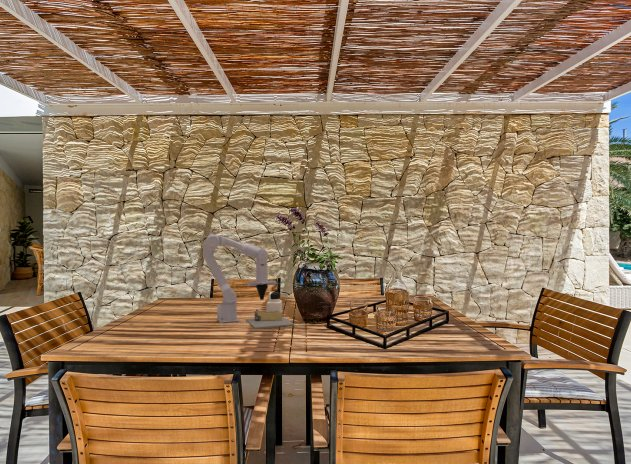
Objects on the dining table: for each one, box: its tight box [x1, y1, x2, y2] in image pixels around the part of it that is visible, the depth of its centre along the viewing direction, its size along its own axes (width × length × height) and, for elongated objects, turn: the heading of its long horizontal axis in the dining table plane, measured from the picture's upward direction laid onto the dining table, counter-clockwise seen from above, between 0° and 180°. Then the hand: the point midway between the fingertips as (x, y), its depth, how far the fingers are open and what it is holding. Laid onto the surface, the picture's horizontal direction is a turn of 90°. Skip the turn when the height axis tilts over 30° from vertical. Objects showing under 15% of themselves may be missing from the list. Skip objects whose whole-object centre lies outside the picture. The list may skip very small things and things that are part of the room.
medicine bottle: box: [266, 291, 283, 313], centre depth 246 cm, size 7×7×12 cm
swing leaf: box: [254, 310, 283, 320], centre depth 229 cm, size 3×13×4 cm, turn 99°
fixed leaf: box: [254, 309, 280, 321], centre depth 230 cm, size 13×3×5 cm, turn 112°
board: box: [245, 316, 295, 330], centre depth 226 cm, size 19×19×1 cm
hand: (261, 299), depth 235 cm, fingers closed
